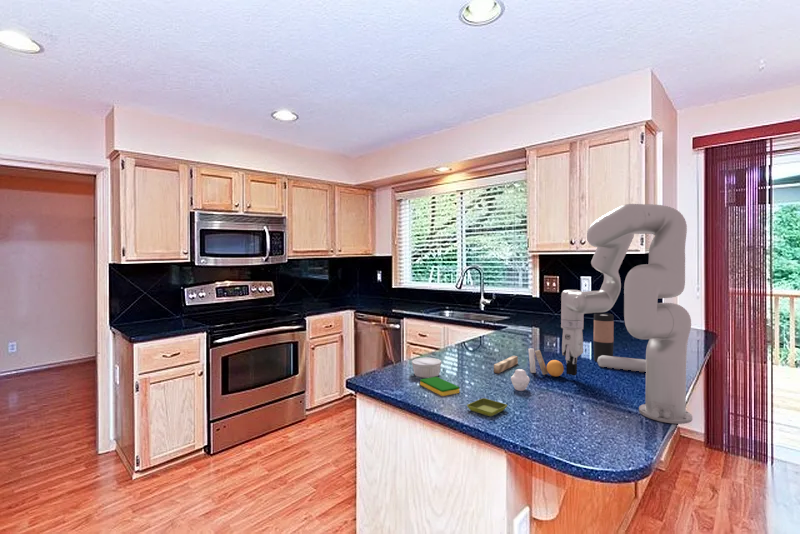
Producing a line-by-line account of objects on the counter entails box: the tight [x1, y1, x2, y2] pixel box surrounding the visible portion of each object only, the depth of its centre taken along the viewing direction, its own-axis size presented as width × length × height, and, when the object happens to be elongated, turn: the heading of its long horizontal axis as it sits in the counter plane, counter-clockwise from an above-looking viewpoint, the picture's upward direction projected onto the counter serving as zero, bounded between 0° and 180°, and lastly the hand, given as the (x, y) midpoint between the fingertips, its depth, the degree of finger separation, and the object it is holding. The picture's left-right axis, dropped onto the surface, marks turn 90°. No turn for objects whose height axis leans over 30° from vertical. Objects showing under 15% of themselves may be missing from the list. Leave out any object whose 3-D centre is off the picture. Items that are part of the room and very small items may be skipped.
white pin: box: [527, 348, 537, 374], centre depth 159 cm, size 2×2×9 cm
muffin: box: [510, 368, 531, 392], centre depth 139 cm, size 6×6×7 cm
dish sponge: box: [419, 376, 460, 397], centre depth 140 cm, size 7×14×2 cm, turn 29°
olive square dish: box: [466, 397, 508, 417], centre depth 120 cm, size 9×9×2 cm
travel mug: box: [593, 312, 615, 363], centre depth 175 cm, size 8×8×20 cm
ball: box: [546, 359, 565, 377], centre depth 154 cm, size 6×6×6 cm
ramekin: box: [411, 357, 442, 379], centre depth 157 cm, size 11×11×5 cm
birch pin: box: [534, 349, 549, 376], centre depth 156 cm, size 2×2×9 cm
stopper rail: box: [493, 355, 519, 374], centre depth 165 cm, size 18×2×3 cm, turn 141°
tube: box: [596, 355, 646, 373], centre depth 161 cm, size 5×5×25 cm
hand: (571, 374), depth 150 cm, fingers closed
